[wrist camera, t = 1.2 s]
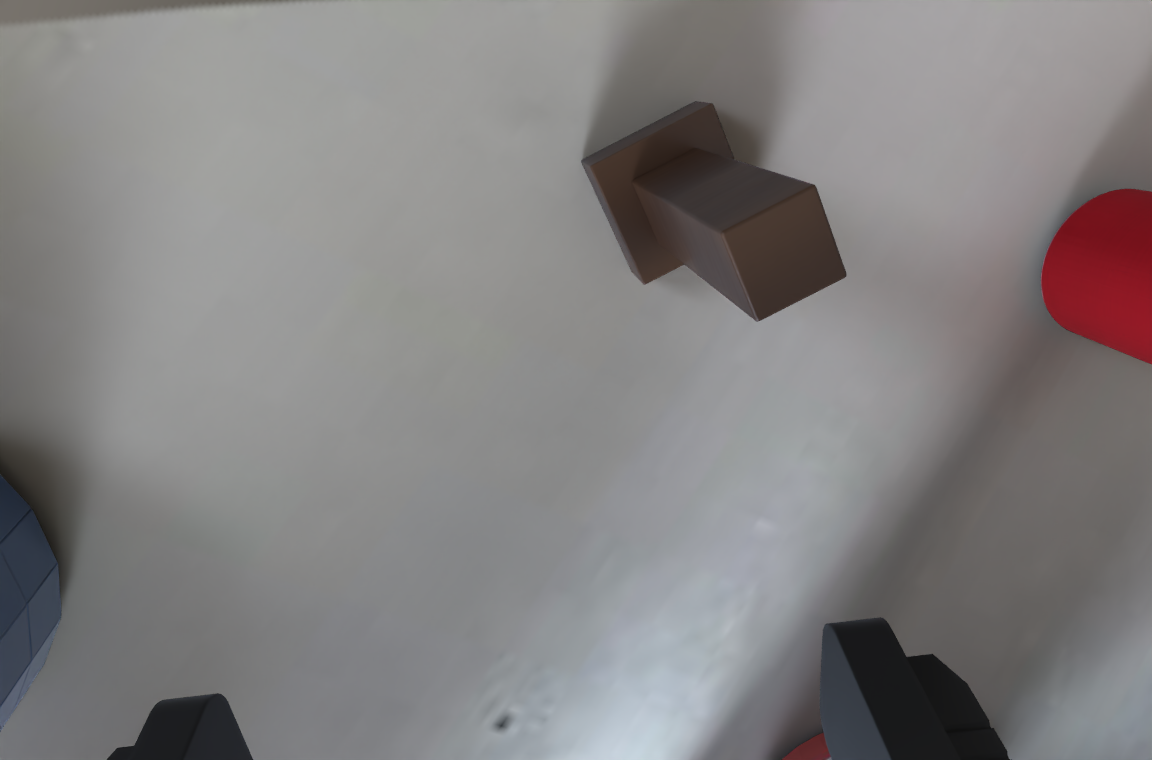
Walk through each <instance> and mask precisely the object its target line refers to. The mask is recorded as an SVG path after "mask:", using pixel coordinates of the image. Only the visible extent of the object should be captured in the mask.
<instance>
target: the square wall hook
mask: <svg viewBox="0 0 1152 760" xmlns="http://www.w3.org/2000/svg"><path fill="white" fill-rule="evenodd" d="M581 163H582V165H583V167H584V169H585V171H586V173H587V176H588V178H589V180H590V182H591V184H592V186H593V189H594V191H595V193H596V195H597V197H598V199H599V202H600V204H601V206H602V208H603V210H604V212H605V215H606V217H607V219H608V221H609V223H610V226H611V228H612V230H613V232H614V234H615V236H616V239H617V241H618V243H619V245H620V247H621V249H622V252H623V254H624V256H625V258H626V260H627V262H628V265H629V267H630V269H631V271H632V273H633V274H634V275H635V276H636V277H637V278H638V279H639V280H640V281H641V282H642V283H643V284H647V283H649V282H651V281H653V280H655V279H657V278H659V277H661V276H663V275H665V274H667V273H669V272H671V271H672V270H674V269H676V268H678V267H680V266H682V265H684V264H685V265H686V266H687V267H688V268H690V269H691V270H692V271H694V272H695V273H696V274H697V275H699V276H700V277H701V278H702V279H704V280H705V281H706V282H707V283H709V284H710V285H711V286H712V287H714V288H715V289H716V290H718V291H719V292H720V293H721V294H723V295H724V296H725V297H726V298H728V299H729V300H730V301H731V302H733V303H734V304H735V305H736V306H738V307H739V308H740V309H741V310H743V311H744V312H745V313H747V314H748V315H749V316H750V317H752V318H753V319H754V320H755V321H760V320H762V319H764V318H766V317H768V316H770V315H772V314H774V313H776V312H778V311H780V310H782V309H784V308H786V307H788V306H790V305H792V304H794V303H796V302H798V301H800V300H802V299H804V298H806V297H808V296H810V295H812V294H814V293H816V292H818V291H820V290H821V289H823V288H825V287H827V286H829V285H831V284H833V283H835V282H837V281H839V280H841V279H843V278H845V277H846V271H845V268H844V265H843V262H842V259H841V257H840V254H839V251H838V248H837V245H836V242H835V239H834V237H833V234H832V231H831V228H830V225H829V222H828V219H827V217H826V214H825V211H824V208H823V205H822V202H821V199H820V197H819V194H818V191H817V188H816V186H815V185H813V184H810V183H807V182H804V181H801V180H797V179H794V178H791V177H788V176H785V175H781V174H778V173H775V172H772V171H769V170H765V169H762V168H759V167H756V166H753V165H749V164H746V163H743V162H740V161H737V160H734V157H733V155H732V152H731V149H730V147H729V144H728V142H727V139H726V136H725V134H724V131H723V129H722V126H721V123H720V121H719V118H718V116H717V113H716V110H715V108H714V105H713V104H712V103H706V102H698V101H695V102H693V103H691V104H689V105H687V106H685V107H683V108H681V109H679V110H678V111H676V112H674V113H672V114H670V115H668V116H666V117H664V118H662V119H660V120H658V121H656V122H654V123H652V124H650V125H648V126H646V127H644V128H643V129H641V130H639V131H637V132H635V133H633V134H631V135H629V136H627V137H625V138H623V139H621V140H619V141H617V142H615V143H613V144H611V145H609V146H608V147H606V148H604V149H602V150H600V151H598V152H596V153H594V154H592V155H590V156H588V157H586V158H584V159H582V160H581Z"/></svg>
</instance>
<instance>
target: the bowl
mask: <svg viewBox="0 0 1152 760" xmlns="http://www.w3.org/2000/svg"><path fill="white" fill-rule="evenodd" d="M60 620H61V600H60V585H59V569H58V563H57V560H56V558H55V556H54V554H53V552H52V550H51V547H50V545H49V543H48V541H47V539H46V537H45V535H44V533H43V530H42V528H41V526H40V524H39V522H38V520H37V518H36V516H35V513H34V511H33V510H32V509H31V507H30V506H29V504H28V503H27V502H26V501H25V500H24V499H23V498H22V497H21V496H20V495H19V494H18V493H17V492H16V491H15V490H14V488H13V487H12V486H11V485H10V484H9V483H8V482H7V481H6V480H5V479H4V478H3V477H2V476H1V475H0V732H1V730H2V728H3V727H4V725H5V724H6V722H7V721H8V719H9V718H10V716H11V715H12V713H13V711H14V710H15V708H16V707H17V705H18V704H19V702H20V701H21V699H22V698H23V696H24V695H25V693H26V692H27V690H28V688H29V687H30V685H31V684H32V682H33V681H34V679H35V678H36V676H37V675H38V673H39V672H40V670H41V668H42V667H43V665H44V664H45V661H46V658H47V655H48V653H49V650H50V647H51V644H52V642H53V639H54V636H55V633H56V631H57V628H58V625H59V622H60Z"/></svg>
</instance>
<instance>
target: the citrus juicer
mask: <svg viewBox="0 0 1152 760" xmlns="http://www.w3.org/2000/svg"><path fill="white" fill-rule="evenodd" d="M782 760H832V759H831V756H830V753H829V751H828V747H827V744H826V740H825V737H824V732H823V733H821V734H819V735H816V736H815V737H813V738H811V739H810V740H808V741H806V742H805V743H803V744H801V745H799V746H798V747H796V748H795V749H794V750H793V751H792V752H790V753H789V754H788V755H787V756H785V757H784V758H783V759H782Z"/></svg>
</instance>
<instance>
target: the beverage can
mask: <svg viewBox="0 0 1152 760" xmlns="http://www.w3.org/2000/svg"><path fill="white" fill-rule="evenodd" d="M1041 291H1042V296H1043V300H1044V303H1045V305H1046V308H1047V310H1048V311H1049V313H1050V314H1051V316H1052V317H1053V318H1054V320H1055V321H1056V322H1057V323H1058V324H1060V325H1061V326H1062V327H1064V328H1065V329H1067V330H1069V331H1071V332H1073V333H1076V334H1078V335H1081V336H1083V337H1086V338H1088V339H1091V340H1093V341H1096V342H1098V343H1100V344H1103V345H1105V346H1108V347H1110V348H1113V349H1115V350H1118V351H1120V352H1123V353H1125V354H1127V355H1130V356H1132V357H1135V358H1137V359H1140V360H1142V361H1145V362H1147V363H1149V364H1152V192H1149V191H1143V190H1137V189H1120V190H1114V191H1110V192H1107V193H1104V194H1101V195H1099V196H1097V197H1095V198H1093V199H1091V200H1089V201H1088V202H1086V203H1084V204H1083V205H1081V206H1080V207H1079V208H1078V209H1077V210H1075V211H1074V212H1073V213H1072V214H1071V215H1070V216H1069V217H1068V218H1067V219H1066V220H1065V221H1064V223H1063V224H1062V225H1061V226H1060V228H1059V229H1058V231H1057V232H1056V234H1055V235H1054V237H1053V239H1052V241H1051V243H1050V245H1049V247H1048V249H1047V252H1046V255H1045V258H1044V261H1043V265H1042V271H1041Z"/></svg>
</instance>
